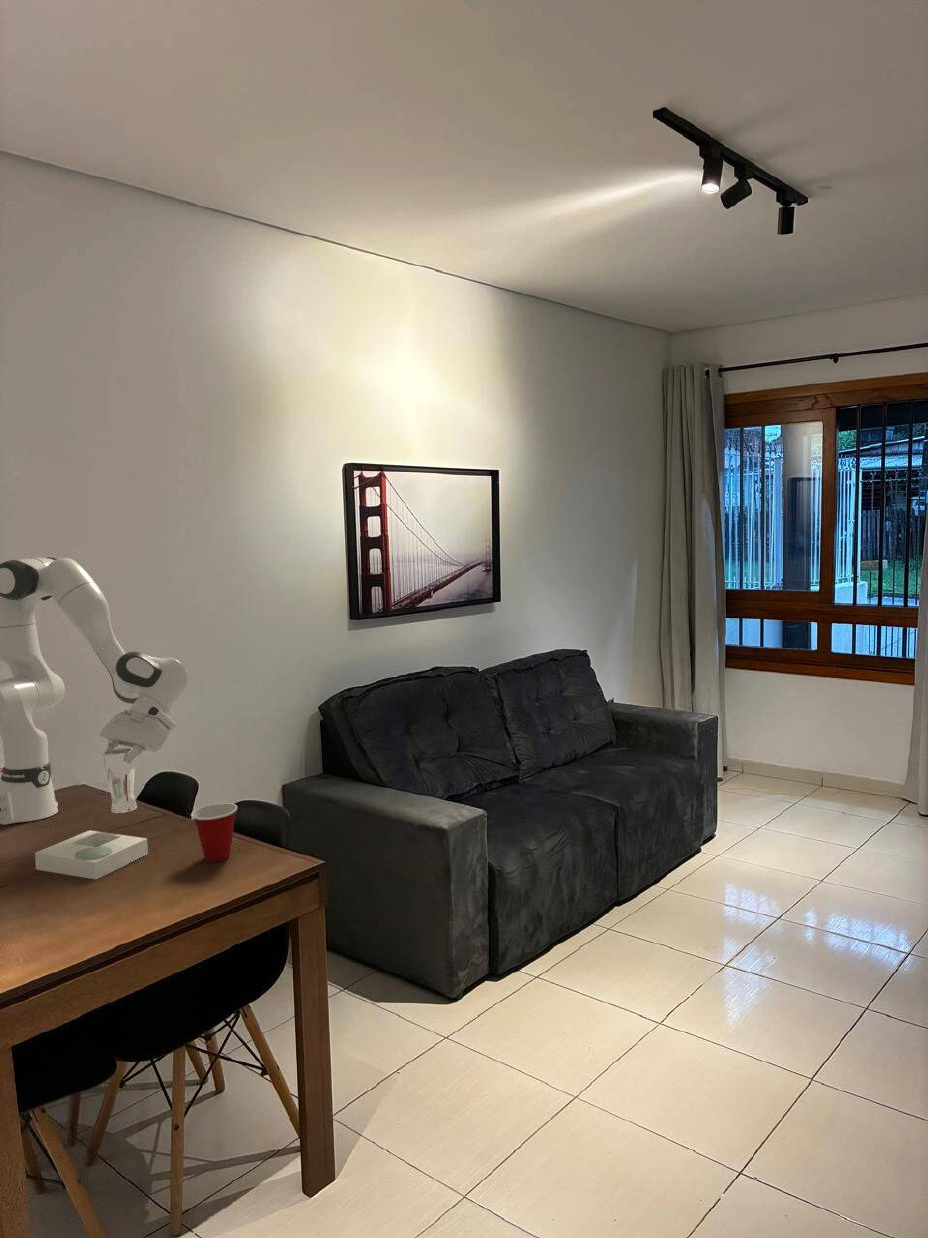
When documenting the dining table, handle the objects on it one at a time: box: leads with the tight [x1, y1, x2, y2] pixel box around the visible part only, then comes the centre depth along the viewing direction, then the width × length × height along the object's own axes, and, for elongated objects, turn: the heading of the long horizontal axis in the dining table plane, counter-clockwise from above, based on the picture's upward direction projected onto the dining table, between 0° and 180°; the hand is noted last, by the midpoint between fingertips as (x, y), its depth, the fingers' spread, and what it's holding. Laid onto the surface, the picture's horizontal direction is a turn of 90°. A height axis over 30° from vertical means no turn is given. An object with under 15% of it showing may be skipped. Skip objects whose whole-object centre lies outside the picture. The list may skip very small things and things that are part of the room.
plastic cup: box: [190, 802, 238, 863], centre depth 222 cm, size 11×11×12 cm
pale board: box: [34, 829, 149, 880], centre depth 221 cm, size 18×17×4 cm
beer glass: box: [103, 747, 138, 814], centre depth 234 cm, size 7×7×15 cm
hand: (116, 759), depth 233 cm, fingers closed on beer glass, 6 cm apart
